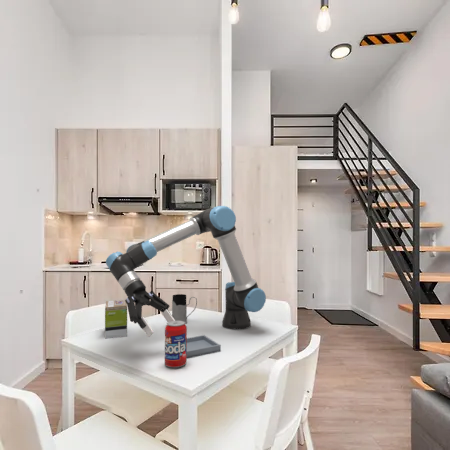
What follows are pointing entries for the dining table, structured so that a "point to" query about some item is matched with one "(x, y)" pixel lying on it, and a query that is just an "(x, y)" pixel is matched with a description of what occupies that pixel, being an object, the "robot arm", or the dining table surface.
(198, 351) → the tray
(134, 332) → the dining table surface
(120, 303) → the tea box
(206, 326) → the dining table surface
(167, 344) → the soda can
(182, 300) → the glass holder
